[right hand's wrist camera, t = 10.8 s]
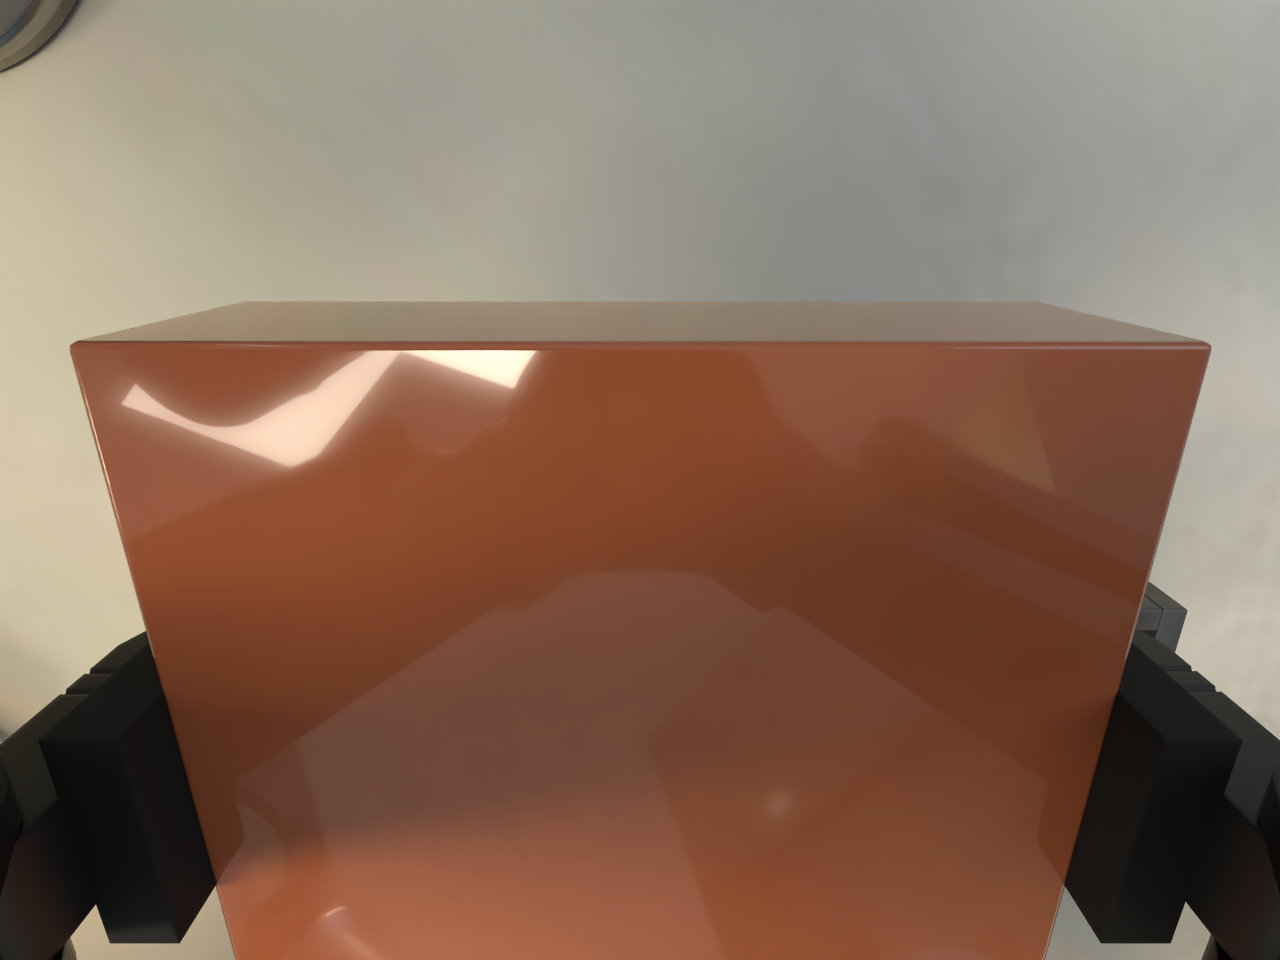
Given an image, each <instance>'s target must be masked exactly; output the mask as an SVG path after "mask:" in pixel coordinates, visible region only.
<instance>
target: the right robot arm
mask: <svg viewBox="0 0 1280 960" xmlns="http://www.w3.org/2000/svg"><path fill="white" fill-rule="evenodd" d="M75 2H76V0H0V71H1V70H3V69H5V68H8V67H10V66H12V65H14V64H16V63H18V62H19V61H21V60H22V59H24V58H26V57H27V56H29V55H30V54H32V53H33V52H34V51H36V50H37V49H38V48H39V47H40V46H42V45H43V44H44V43H45V42H46V41H47V40H48V39H49V38H50V37H51V36H52V35H53V34H54V33H55V31H56V30H57V29H58V28H59V27H60V26H61V24H62V23H63V21H64V20H65V18H66V17H67V16H68V14H69V13H70V11H71V9H72V8H73V6H74V4H75ZM215 886H216V884H215V880H214V877H213V873H212V869H211V866H210V862H209V858H208V855H207V851H206V847H205V844H204V840H203V836H202V833H201V829H200V825H199V822H198V818H197V814H196V811H195V807H194V803H193V800H192V796H191V792H190V789H189V785H188V781H187V778H186V774H185V770H184V767H183V763H182V759H181V756H180V752H179V748H178V745H177V741H176V737H175V734H174V730H173V726H172V723H171V719H170V716H169V712H168V708H167V705H166V701H165V697H164V694H163V690H162V687H161V683H160V679H159V676H158V672H157V668H156V665H155V661H154V657H153V654H152V650H151V646H150V643H149V639H148V635H147V632H146V631H145V632H143V633H141V634H139V635H137V636H135V637H133V638H132V639H130V640H128V641H126V642H124V643H122V644H120V645H118V646H117V647H116V648H115V649H114V650H112V651H111V652H110V653H109V654H108V655H107V656H105V657H104V658H103V659H102V660H101V661H99V662H98V663H97V664H96V665H95V666H93V667H92V668H91V669H90V674H84V675H83V676H82V677H80V678H79V679H78V680H77V681H76V682H74V683H73V684H72V685H71V686H70V687H68V688H67V689H66V694H65V695H59V696H58V697H57V698H55V699H54V700H53V701H52V702H51V703H49V704H48V705H47V706H46V707H45V708H43V709H42V710H41V711H40V712H39V713H37V714H36V715H35V716H34V717H33V718H31V719H30V720H29V721H28V722H27V723H26V724H24V725H23V726H22V727H21V728H20V729H18V730H17V731H16V732H15V733H14V734H12V735H11V736H10V737H9V738H8V739H6V740H5V741H4V742H3V743H2V744H1V745H0V960H77V959H76V953H75V949H74V947H73V944H72V941H71V939H70V937H71V935H72V934H73V933H74V932H75V930H76V929H77V928H78V926H79V925H80V924H81V923H82V921H83V920H84V919H85V917H86V916H87V915H88V914H89V912H90V911H91V910H92V908H93V907H94V906H95V905H97V908H98V911H99V914H100V917H101V919H102V922H103V925H104V928H105V931H106V933H107V936H108V939H109V942H110V943H180V942H181V940H182V938H183V937H184V935H185V934H186V932H187V930H188V929H189V927H190V926H191V924H192V922H193V921H194V919H195V918H196V916H197V914H198V913H199V911H200V910H201V908H202V906H203V905H204V903H205V902H206V900H207V898H208V897H209V895H210V894H211V892H212V890H213V889H214V887H215ZM1065 887H1066V888H1067V890H1068V891H1069V893H1070V895H1071V896H1072V898H1073V899H1074V901H1075V903H1076V904H1077V906H1078V907H1079V909H1080V910H1081V912H1082V914H1083V915H1084V917H1085V918H1086V920H1087V922H1088V923H1089V925H1090V926H1091V928H1092V930H1093V931H1094V933H1095V934H1096V936H1097V938H1098V939H1099V941H1100V942H1101V943H1171V941H1172V938H1173V935H1174V932H1175V930H1176V927H1177V924H1178V921H1179V918H1180V916H1181V913H1182V910H1183V907H1184V904H1185V901H1186V902H1187V904H1188V905H1189V906H1190V908H1191V909H1192V910H1193V911H1194V913H1195V914H1196V915H1197V916H1198V918H1199V919H1200V920H1201V922H1202V923H1203V924H1204V925H1205V927H1206V928H1207V929H1208V930H1209V932H1210V933H1211V936H1210V939H1209V941H1208V944H1207V947H1206V949H1205V952H1204V954H1203V957H1202V960H1280V740H1279V739H1278V738H1276V737H1275V736H1274V735H1273V734H1272V733H1270V732H1269V731H1268V730H1267V729H1266V728H1264V727H1263V726H1262V725H1261V724H1260V723H1258V722H1257V721H1256V720H1255V719H1254V718H1252V717H1251V716H1250V715H1249V714H1248V713H1246V712H1245V711H1244V710H1243V709H1242V708H1240V707H1239V706H1238V705H1237V704H1236V703H1234V702H1233V701H1232V700H1231V699H1230V698H1228V697H1227V696H1226V695H1225V694H1224V693H1222V692H1216V690H1215V686H1214V685H1213V684H1212V683H1210V682H1209V681H1208V680H1207V679H1206V678H1204V677H1203V676H1202V675H1201V674H1200V673H1198V672H1197V671H1192V670H1191V666H1190V665H1189V664H1188V663H1186V662H1185V661H1184V660H1183V659H1182V658H1180V657H1179V656H1178V655H1177V654H1176V653H1174V652H1173V651H1172V650H1171V649H1170V648H1168V647H1167V646H1166V645H1165V644H1164V643H1162V642H1160V641H1158V640H1156V639H1155V638H1153V637H1151V636H1149V635H1147V634H1145V633H1143V632H1141V631H1139V630H1137V629H1135V631H1134V635H1133V638H1132V642H1131V646H1130V649H1129V653H1128V657H1127V660H1126V664H1125V668H1124V671H1123V675H1122V679H1121V682H1120V686H1119V689H1118V693H1117V696H1116V700H1115V703H1114V707H1113V711H1112V714H1111V718H1110V722H1109V725H1108V729H1107V733H1106V736H1105V740H1104V744H1103V747H1102V751H1101V755H1100V758H1099V762H1098V766H1097V769H1096V773H1095V776H1094V780H1093V784H1092V787H1091V791H1090V795H1089V798H1088V802H1087V806H1086V809H1085V813H1084V817H1083V820H1082V824H1081V828H1080V831H1079V835H1078V839H1077V842H1076V846H1075V850H1074V853H1073V857H1072V861H1071V864H1070V868H1069V872H1068V875H1067V879H1066V882H1065Z"/></svg>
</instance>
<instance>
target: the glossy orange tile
mask: <svg viewBox="0 0 1280 960" xmlns="http://www.w3.org/2000/svg"><path fill="white" fill-rule="evenodd" d="M1210 353H1211V345H1210V344H1209V343H1207V342H1205V341H1202V340H1197V339H1193V338H1189V337H1185V336H1180V335H1176V334H1172V333H1168V332H1163V331H1159V330H1155V329H1151V328H1146V327H1142V326H1138V325H1134V324H1129V323H1125V322H1121V321H1116V320H1112V319H1108V318H1104V317H1099V316H1095V315H1091V314H1087V313H1082V312H1078V311H1074V310H1070V309H1065V308H1061V307H1057V306H1053V305H1048V304H1044V303H1040V302H241V303H236V304H232V305H228V306H224V307H219V308H215V309H211V310H207V311H202V312H198V313H194V314H189V315H185V316H181V317H177V318H172V319H168V320H164V321H160V322H155V323H151V324H147V325H143V326H138V327H134V328H130V329H126V330H121V331H117V332H113V333H109V334H104V335H100V336H96V337H91V338H87V339H83V340H79V341H76V342H74V343H72V344H71V345H70V354H71V357H72V361H73V364H74V368H75V372H76V375H77V379H78V383H79V386H80V390H81V394H82V397H83V401H84V405H85V408H86V412H87V416H88V419H89V423H90V427H91V430H92V434H93V438H94V441H95V445H96V449H97V452H98V456H99V460H100V463H101V467H102V471H103V474H104V478H105V482H106V485H107V489H108V493H109V496H110V500H111V504H112V507H113V511H114V515H115V518H116V522H117V526H118V529H119V533H120V537H121V540H122V544H123V548H124V551H125V555H126V559H127V562H128V566H129V570H130V573H131V577H132V581H133V584H134V588H135V592H136V595H137V599H138V603H139V606H140V610H141V614H142V617H143V621H144V624H145V628H146V632H147V635H148V639H149V643H150V646H151V650H152V654H153V657H154V661H155V665H156V668H157V672H158V676H159V679H160V683H161V687H162V690H163V694H164V697H165V701H166V705H167V708H168V712H169V716H170V719H171V723H172V726H173V730H174V734H175V737H176V741H177V745H178V748H179V752H180V756H181V759H182V763H183V767H184V770H185V774H186V778H187V781H188V785H189V789H190V792H191V796H192V800H193V803H194V807H195V811H196V814H197V818H198V822H199V825H200V829H201V833H202V836H203V840H204V844H205V847H206V851H207V855H208V858H209V862H210V866H211V869H212V873H213V877H214V880H215V884H216V888H217V892H218V895H219V899H220V903H221V906H222V910H223V914H224V917H225V921H226V925H227V928H228V932H229V936H230V939H231V943H232V947H233V950H234V954H235V958H236V960H1045V956H1046V953H1047V949H1048V945H1049V942H1050V938H1051V934H1052V931H1053V927H1054V923H1055V920H1056V916H1057V912H1058V909H1059V905H1060V901H1061V898H1062V894H1063V890H1064V887H1065V882H1066V879H1067V875H1068V872H1069V868H1070V864H1071V861H1072V857H1073V853H1074V850H1075V846H1076V842H1077V839H1078V835H1079V831H1080V828H1081V824H1082V820H1083V817H1084V813H1085V809H1086V806H1087V802H1088V798H1089V795H1090V791H1091V787H1092V784H1093V780H1094V776H1095V773H1096V769H1097V766H1098V762H1099V758H1100V755H1101V751H1102V747H1103V744H1104V740H1105V736H1106V733H1107V729H1108V725H1109V722H1110V718H1111V714H1112V711H1113V707H1114V703H1115V700H1116V696H1117V693H1118V689H1119V686H1120V682H1121V679H1122V675H1123V671H1124V668H1125V664H1126V660H1127V657H1128V653H1129V649H1130V646H1131V642H1132V638H1133V635H1134V631H1135V627H1136V624H1137V620H1138V616H1139V613H1140V609H1141V605H1142V602H1143V598H1144V594H1145V591H1146V587H1147V584H1148V580H1149V576H1150V573H1151V569H1152V565H1153V562H1154V558H1155V554H1156V551H1157V547H1158V543H1159V540H1160V536H1161V532H1162V529H1163V525H1164V521H1165V518H1166V514H1167V510H1168V507H1169V503H1170V499H1171V496H1172V492H1173V489H1174V485H1175V481H1176V478H1177V474H1178V470H1179V467H1180V463H1181V459H1182V456H1183V452H1184V448H1185V445H1186V441H1187V437H1188V434H1189V430H1190V426H1191V423H1192V419H1193V415H1194V412H1195V408H1196V404H1197V401H1198V397H1199V394H1200V390H1201V386H1202V383H1203V379H1204V375H1205V372H1206V368H1207V364H1208V361H1209V357H1210Z"/></svg>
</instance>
